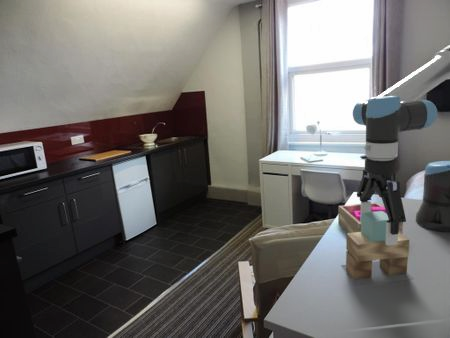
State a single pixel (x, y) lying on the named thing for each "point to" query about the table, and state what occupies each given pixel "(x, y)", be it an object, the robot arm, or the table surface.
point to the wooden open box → (350, 221)
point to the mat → (378, 275)
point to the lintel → (375, 248)
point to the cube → (374, 225)
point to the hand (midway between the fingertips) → (377, 232)
